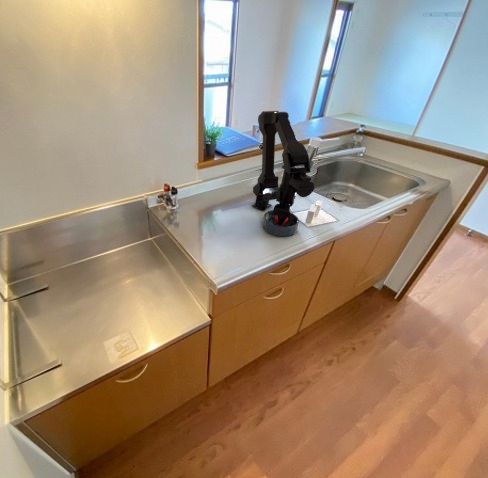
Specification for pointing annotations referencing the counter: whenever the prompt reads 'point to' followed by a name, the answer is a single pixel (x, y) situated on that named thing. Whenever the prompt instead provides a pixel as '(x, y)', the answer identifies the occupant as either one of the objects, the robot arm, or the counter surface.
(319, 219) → the napkin holder
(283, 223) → the tomato
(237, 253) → the counter surface
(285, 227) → the bowl
